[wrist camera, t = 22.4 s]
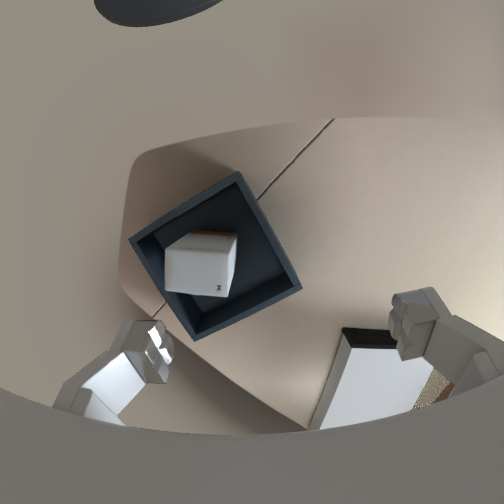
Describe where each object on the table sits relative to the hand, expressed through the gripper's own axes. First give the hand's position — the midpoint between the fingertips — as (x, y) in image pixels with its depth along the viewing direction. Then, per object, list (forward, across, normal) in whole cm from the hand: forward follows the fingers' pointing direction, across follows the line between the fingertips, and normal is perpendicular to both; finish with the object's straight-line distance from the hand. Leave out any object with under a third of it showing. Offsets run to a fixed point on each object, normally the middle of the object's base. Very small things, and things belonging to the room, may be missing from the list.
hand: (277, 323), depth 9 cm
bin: (+26, +8, +11) cm, 29 cm away
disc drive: (+19, -13, +38) cm, 44 cm away
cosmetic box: (+25, +8, +10) cm, 28 cm away
